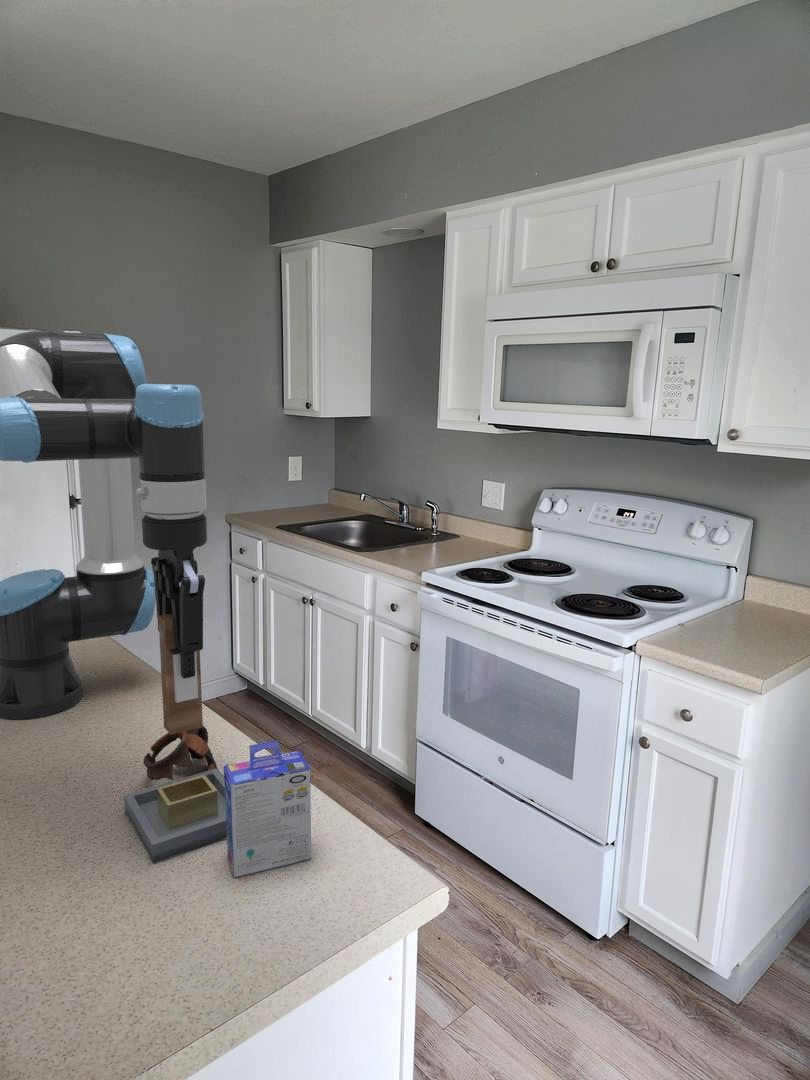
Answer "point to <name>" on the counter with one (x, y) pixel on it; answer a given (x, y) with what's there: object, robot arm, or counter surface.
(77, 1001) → the counter surface
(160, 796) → the tan hollow wooden box
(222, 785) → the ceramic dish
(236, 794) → the ink cartridge box
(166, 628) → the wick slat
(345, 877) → the counter surface
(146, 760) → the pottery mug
